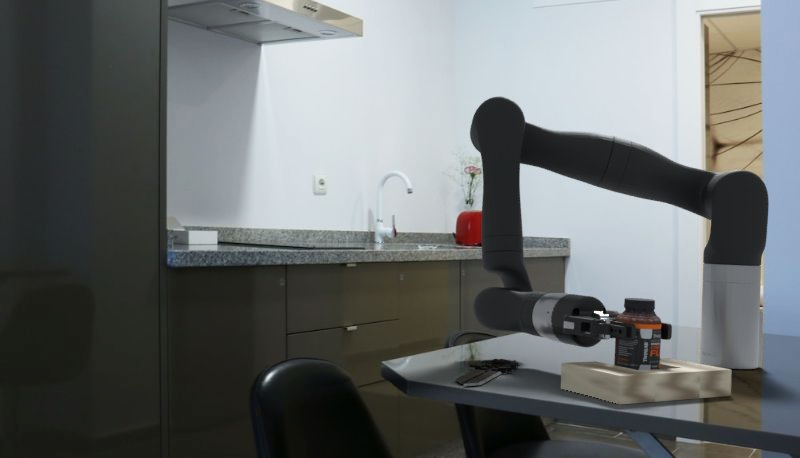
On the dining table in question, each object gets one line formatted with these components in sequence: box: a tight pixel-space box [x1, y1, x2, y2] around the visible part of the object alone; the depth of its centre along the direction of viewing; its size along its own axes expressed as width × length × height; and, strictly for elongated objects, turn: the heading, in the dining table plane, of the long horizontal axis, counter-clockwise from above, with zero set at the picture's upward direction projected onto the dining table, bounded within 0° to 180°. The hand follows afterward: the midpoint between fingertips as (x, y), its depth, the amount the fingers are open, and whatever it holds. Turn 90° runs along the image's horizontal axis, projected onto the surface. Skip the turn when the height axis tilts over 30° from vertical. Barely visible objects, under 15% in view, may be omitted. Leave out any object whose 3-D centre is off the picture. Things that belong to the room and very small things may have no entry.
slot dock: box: [560, 357, 733, 405], centre depth 112 cm, size 20×11×4 cm, turn 119°
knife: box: [454, 358, 519, 387], centre depth 122 cm, size 25×6×1 cm, turn 155°
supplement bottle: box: [613, 297, 662, 370], centre depth 113 cm, size 6×6×11 cm
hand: (651, 332), depth 111 cm, fingers closed on supplement bottle, 6 cm apart
